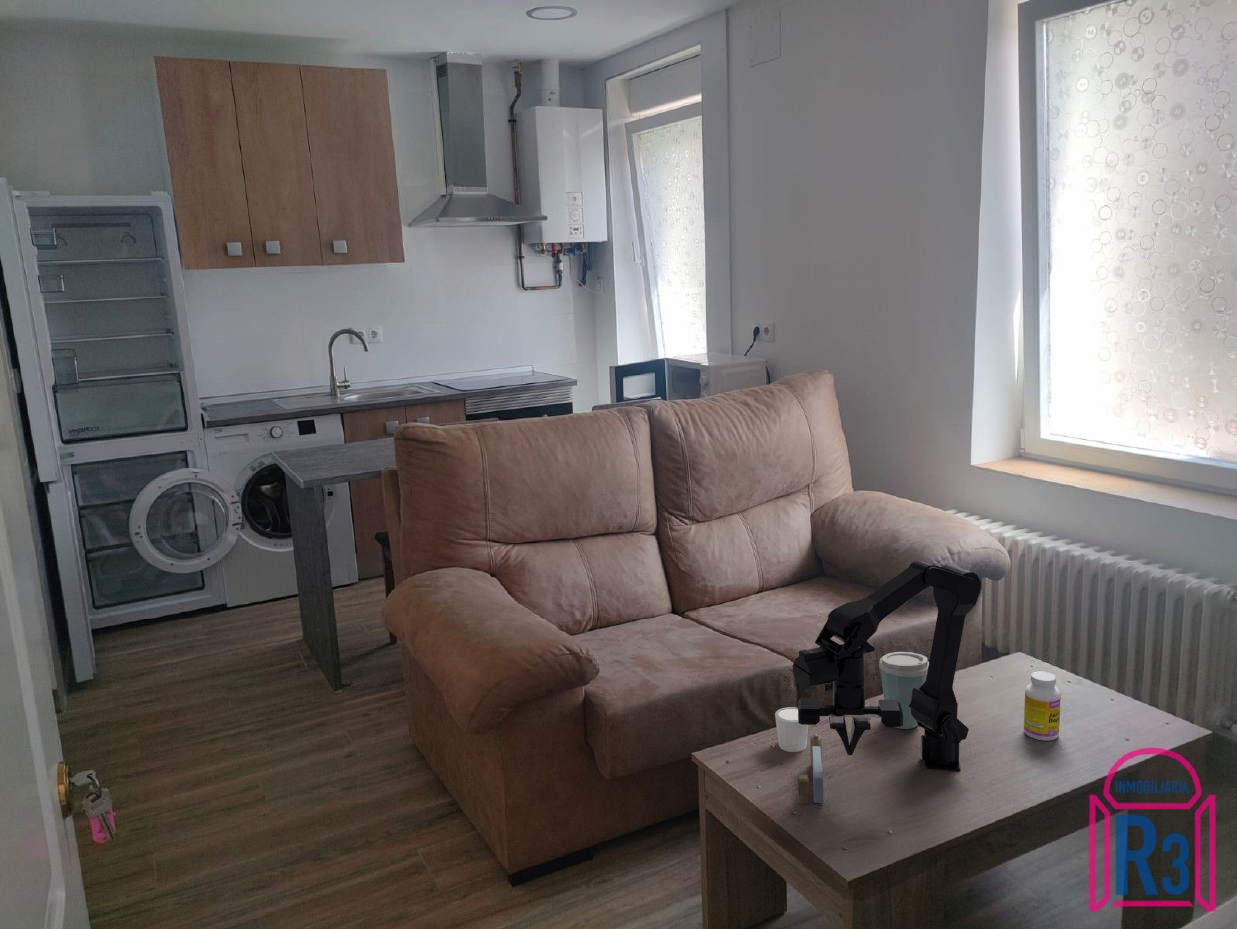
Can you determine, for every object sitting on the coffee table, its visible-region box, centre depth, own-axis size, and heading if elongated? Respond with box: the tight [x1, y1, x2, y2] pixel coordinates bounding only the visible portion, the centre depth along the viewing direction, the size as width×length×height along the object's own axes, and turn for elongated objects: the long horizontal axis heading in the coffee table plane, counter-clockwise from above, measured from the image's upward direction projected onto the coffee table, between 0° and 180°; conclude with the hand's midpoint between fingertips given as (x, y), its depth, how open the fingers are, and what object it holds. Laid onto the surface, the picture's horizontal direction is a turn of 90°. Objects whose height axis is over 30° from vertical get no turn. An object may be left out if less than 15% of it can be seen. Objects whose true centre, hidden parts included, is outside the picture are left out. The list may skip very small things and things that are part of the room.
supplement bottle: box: [1023, 670, 1062, 742], centre depth 189 cm, size 7×7×13 cm
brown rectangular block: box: [797, 774, 810, 805], centre depth 170 cm, size 2×2×5 cm
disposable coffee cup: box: [878, 651, 929, 730], centre depth 197 cm, size 11×11×15 cm
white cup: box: [774, 706, 809, 753], centre depth 191 cm, size 7×7×7 cm
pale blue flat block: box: [809, 733, 825, 804], centre depth 176 cm, size 15×2×6 cm, turn 170°
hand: (849, 754), depth 173 cm, fingers closed
